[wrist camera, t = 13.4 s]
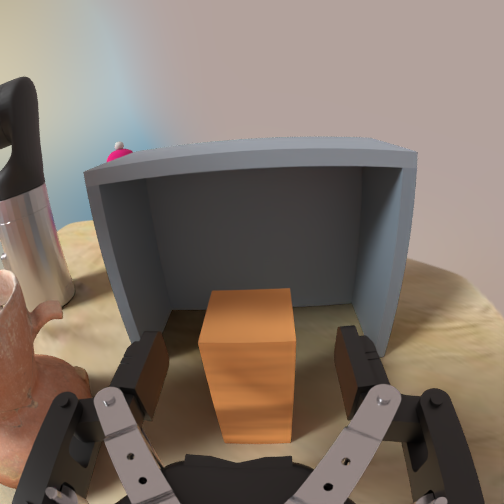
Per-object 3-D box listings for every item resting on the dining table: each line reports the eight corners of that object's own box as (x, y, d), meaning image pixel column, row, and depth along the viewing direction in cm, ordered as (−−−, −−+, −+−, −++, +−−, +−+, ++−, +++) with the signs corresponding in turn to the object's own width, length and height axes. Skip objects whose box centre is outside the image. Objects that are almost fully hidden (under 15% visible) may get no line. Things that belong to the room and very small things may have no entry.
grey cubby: (383, 356, 27) (417, 152, 18) (139, 363, 28) (83, 171, 20) (358, 297, 36) (369, 137, 28) (165, 304, 38) (135, 151, 29)
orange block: (290, 442, 19) (296, 341, 15) (224, 443, 20) (197, 342, 15) (288, 394, 24) (289, 288, 19) (230, 395, 24) (212, 290, 20)
